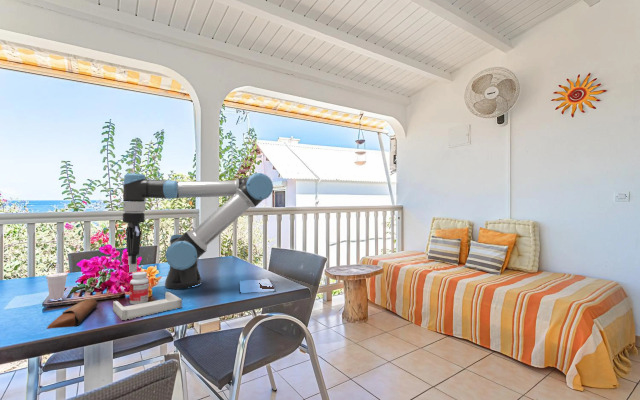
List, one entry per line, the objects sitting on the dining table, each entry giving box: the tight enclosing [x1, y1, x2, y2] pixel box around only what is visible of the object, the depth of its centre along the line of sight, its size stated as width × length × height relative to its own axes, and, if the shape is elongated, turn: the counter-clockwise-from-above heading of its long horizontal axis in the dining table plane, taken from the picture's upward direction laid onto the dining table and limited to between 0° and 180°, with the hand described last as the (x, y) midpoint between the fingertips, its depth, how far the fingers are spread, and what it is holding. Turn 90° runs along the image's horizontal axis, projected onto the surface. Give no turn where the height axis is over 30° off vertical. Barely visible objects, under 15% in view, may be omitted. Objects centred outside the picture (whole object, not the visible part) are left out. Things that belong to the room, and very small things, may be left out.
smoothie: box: [45, 262, 69, 300], centre depth 120 cm, size 6×6×14 cm
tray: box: [112, 291, 183, 321], centre depth 112 cm, size 18×13×3 cm
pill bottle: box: [129, 271, 150, 305], centre depth 119 cm, size 6×6×11 cm
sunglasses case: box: [46, 298, 98, 330], centre depth 103 cm, size 18×7×7 cm
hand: (132, 271), depth 126 cm, fingers closed
